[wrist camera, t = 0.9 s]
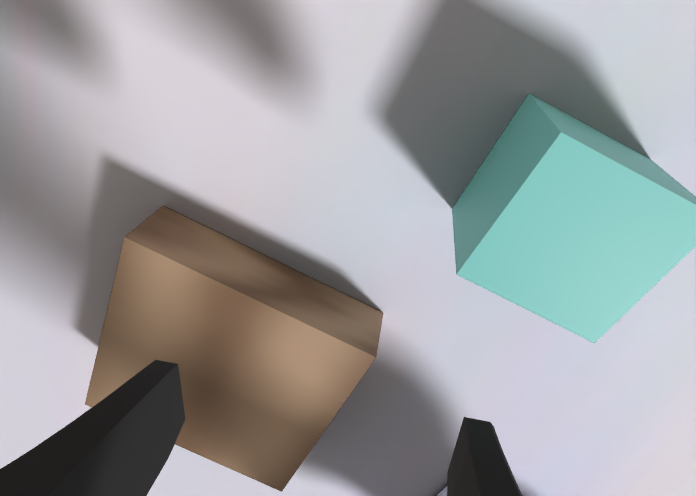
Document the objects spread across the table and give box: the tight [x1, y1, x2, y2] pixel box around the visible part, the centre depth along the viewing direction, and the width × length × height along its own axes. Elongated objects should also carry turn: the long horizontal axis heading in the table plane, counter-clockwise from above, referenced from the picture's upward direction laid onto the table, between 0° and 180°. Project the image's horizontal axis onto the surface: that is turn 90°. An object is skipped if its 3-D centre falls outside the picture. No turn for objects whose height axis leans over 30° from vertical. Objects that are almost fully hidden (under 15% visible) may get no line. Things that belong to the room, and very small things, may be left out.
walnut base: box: [85, 206, 383, 491], centre depth 23 cm, size 11×11×3 cm
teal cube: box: [452, 94, 696, 343], centre depth 16 cm, size 5×5×5 cm
